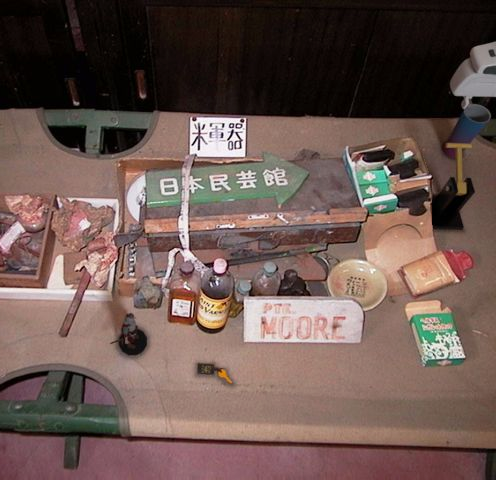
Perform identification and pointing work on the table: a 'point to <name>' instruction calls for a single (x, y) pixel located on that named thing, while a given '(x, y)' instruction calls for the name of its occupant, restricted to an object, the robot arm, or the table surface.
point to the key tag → (212, 371)
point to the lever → (459, 165)
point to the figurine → (131, 337)
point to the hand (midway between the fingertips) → (484, 107)
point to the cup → (467, 127)
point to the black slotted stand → (450, 205)
